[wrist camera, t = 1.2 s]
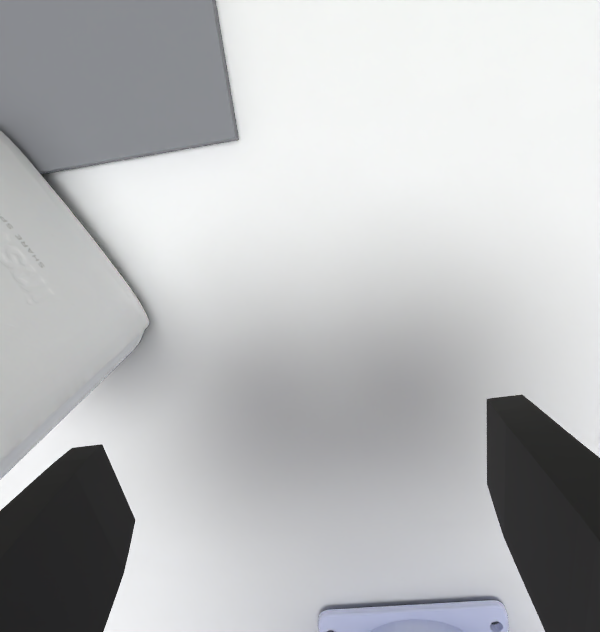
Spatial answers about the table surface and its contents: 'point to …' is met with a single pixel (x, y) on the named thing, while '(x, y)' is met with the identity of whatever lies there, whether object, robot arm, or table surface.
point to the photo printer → (52, 309)
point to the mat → (111, 79)
